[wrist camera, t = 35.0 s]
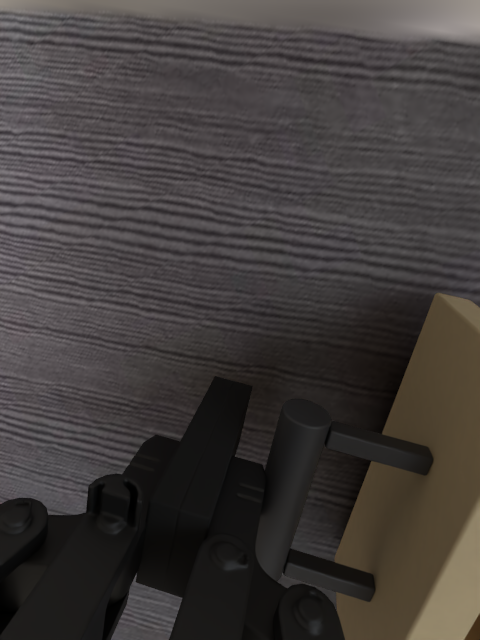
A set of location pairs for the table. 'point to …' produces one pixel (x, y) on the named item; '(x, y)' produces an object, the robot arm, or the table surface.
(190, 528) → the robot arm
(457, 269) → the table surface
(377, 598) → the drawer
